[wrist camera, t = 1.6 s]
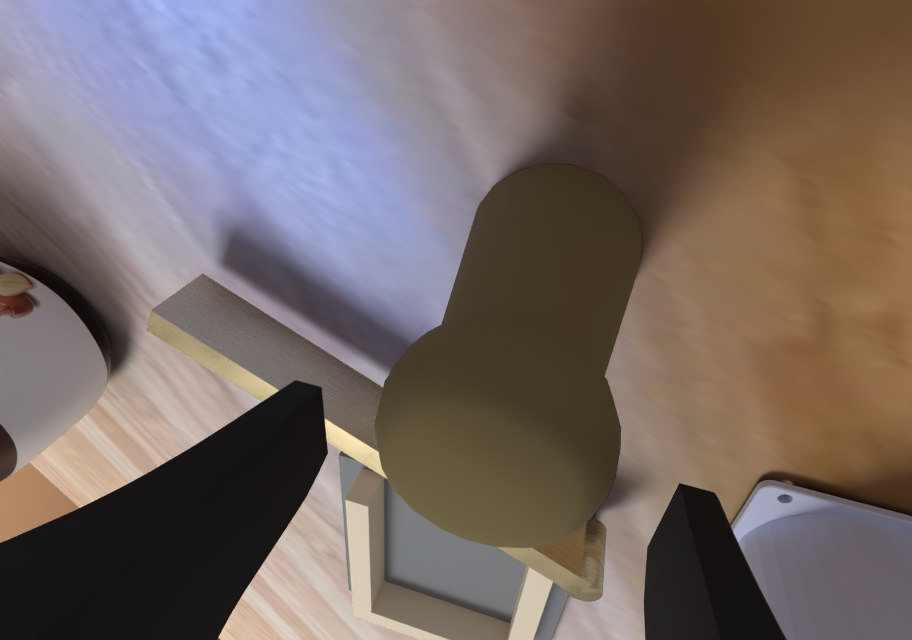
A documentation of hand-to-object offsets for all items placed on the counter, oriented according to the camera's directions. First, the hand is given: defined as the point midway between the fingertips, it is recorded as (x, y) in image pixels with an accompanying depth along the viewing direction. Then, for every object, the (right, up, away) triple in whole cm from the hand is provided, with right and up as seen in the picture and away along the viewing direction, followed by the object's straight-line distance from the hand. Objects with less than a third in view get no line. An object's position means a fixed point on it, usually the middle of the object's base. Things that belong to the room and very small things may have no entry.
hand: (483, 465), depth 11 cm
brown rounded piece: (+3, +6, +8) cm, 10 cm away
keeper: (-3, -1, +13) cm, 13 cm away
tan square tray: (-1, -10, +20) cm, 23 cm away
